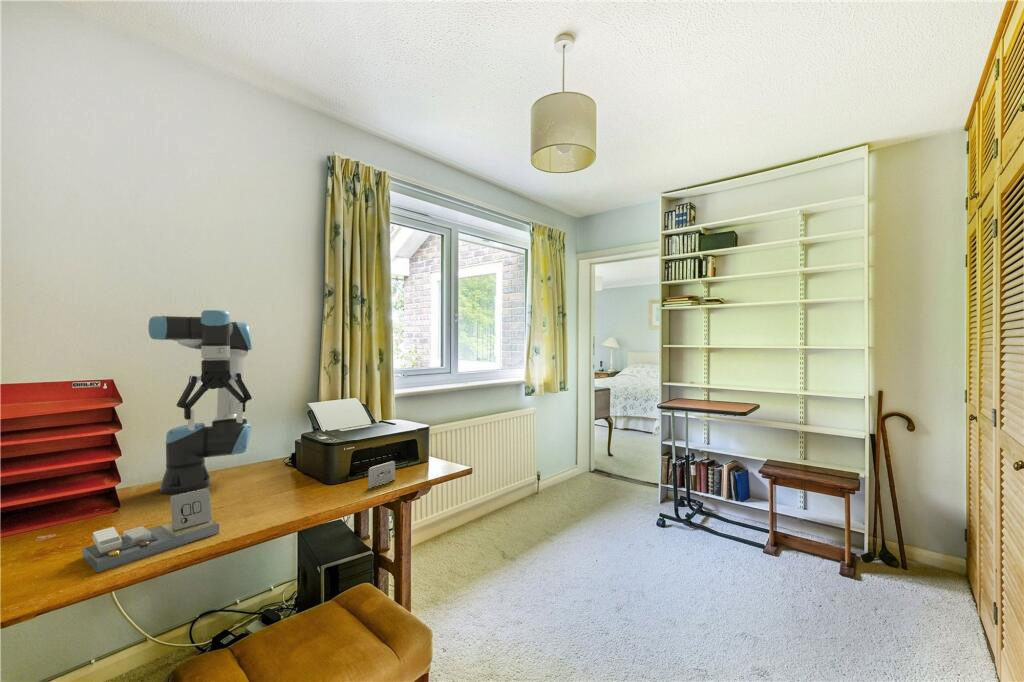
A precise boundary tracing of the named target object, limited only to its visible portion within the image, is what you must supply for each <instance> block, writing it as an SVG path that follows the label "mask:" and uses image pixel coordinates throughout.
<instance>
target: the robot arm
mask: <svg viewBox="0 0 1024 682" xmlns="http://www.w3.org/2000/svg"><path fill="white" fill-rule="evenodd" d="M200 314H201V315H200V316H173V315H171V316H169V315H168V316H167V315H166V316H165V315H159V316H158V315H154V316H151V317H150V318H149V320H148V334H149V338H151V339H152V340H158V341H159V340H161V341H165V340H166V341H167V340H168V341H173V342H174V341H175V342H177V343H178V345H180V346H183V347H186V348H190V349H195V350H200V352H201V355H200V356H201V359H203V360H201V361H200V363H201V367H200V369H201V374H200V376H197V375H189V378H188V383H187V385H186V387H185V388H184V390H183V391H182V394H181V396H180V397H179V399H178V401H177V403H176V407H177V408H180V409H184V410H183V417H184V420H186V421H187V424H183V425H180V426H179V425H178V426H177V427H173V428H171V429H169V430H168V431H167V432H166V435H165V436H166V439H165V467H166V468H165V472H164V474H163V477H162V480H161V482H160V485H159V492H160V493H161V494H165V495H178V494H177V493H179V494H183V493H185V492H186V493H188V492H192V491H195V490H196V491H197V490H201V489H206V487H209V486H210V485H211V477H210V474H209V472H208V469H207V466H206V464H205V462H206V460H205V459H206V458H215V457H222V456H223V457H224V456H234V455H240V454H244V453H245V452H247V450H248V448H249V442H250V436H251V429H252V424H251V423H249V422H248V419H247V418H246V417H245V416H244V415H243V414H244V413H245V412H246V403H247V402H248V401H251V400H252V398H253V397H252V395H251V394H250V392H249V390H248V388H247V386H246V385H245V383H244V360H245V359H244V358H245V357H246V356H248V354H249V351H251V350H252V349H253V347H252V346H253V345H252V339H251V332H250V326H249V324H248V322H242V321H231V317H230V315H231V314H230V312H229V311H227V310H219V309H218V310H217V309H216V310H215V309H214V310H213V309H212V310H211V309H210V310H208V309H205V310H202V312H201V313H200ZM199 381H200V382H201V383H202V384H201V385H200V386H199V388H198V389H197V390H196V391H195V393H193V391H194V390H195V387H196V384H198V383H199ZM209 389H210V390H216V389H217V397H216V398H217V401H216V402H217V404H216V405H217V406H216V417H215V418H214V419H213V420H212V421H211V426H210V425H209V426H206V424H205V423H204V422H195V409H194V408H193V406H194V405H195V404H196V403H197V402H198V401H199V400H200V398H202V397H203V395H204V394H205V393H206V392H208V391H209ZM192 393H193V395H192ZM191 395H192V396H191ZM190 396H191V397H190Z"/></svg>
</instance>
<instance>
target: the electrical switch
mask: <svg viewBox="0 0 1024 682" xmlns="http://www.w3.org/2000/svg"><path fill="white" fill-rule="evenodd" d="M210 491H211V490H210V489H209V488H206V487H205V488H202V489H199V490H196V491H191V492H186V493H179V494H173V495H171V496H170V497H169V504H170V510H171V513H170V514H171V522H172V529H173V530H178V529H182V528H186V527H189V526H193V525H197V524H200V523H204V522H208V521H210V520H211V519H212V520H213V513H212V503H211V492H210ZM183 519H185V521H184V523H183V522H182V520H183Z"/></svg>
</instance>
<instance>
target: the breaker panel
mask: <svg viewBox="0 0 1024 682" xmlns="http://www.w3.org/2000/svg"><path fill="white" fill-rule="evenodd" d="M184 521H185V519H183V520H182V522H183V523H184ZM122 532H123V533H122V536H120V538H121V540H122V547H120V548H116V549H113V550H110V551H106V552H103V553H100V552H99V550H98V548H97V546H96V544H95V543H94V544H91V545H87V546H85V547H82V548H81V549H82V551H81V552H82V557H83V558H84V559H85V560H86V561H85V560H84V559H83V558H82V559H83V560H84V561H85V562H86V563H87V564H88V565H89V566H90V567H91V568H92V569H93V570H94V571H95V572H96V573H97V574H99V573H101V572H105V571H108V570H111V569H114V568H116V567H119V566H120V567H121V566H123V565H126V564H129V563H132V562H135V561H138V560H142V559H145V558H147V557H150V556H153V555H156V554H159V553H163V552H166V551H169V550H171V549H175V548H178V547H181V546H185V545H187V543H188V544H190V543H189V542H191V543H193V542H192V541H194V542H196V541H195V540H197V541H199V540H198V539H200V540H202V539H201V538H203V539H205V538H204V537H206V538H208V536H209V537H211V535H212V536H214V534H215V535H217V534H216V533H218V534H220V524H219V523H218V522H217V521H215V520H213V518H212V519H211V520H210V521H208V522H204V523H200V524H197V525H193V526H189V527H186V528H182V529H178V530H173V529H172V521H171V522H169V523H164V524H162V525H158V526H157V525H156V526H155V527H151V528H148V529H147V528H145V527H144V526H143V525H141V526H138V527H134V528H130V529H127V530H124V531H122ZM184 544H185V545H184Z"/></svg>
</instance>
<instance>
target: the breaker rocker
mask: <svg viewBox="0 0 1024 682" xmlns="http://www.w3.org/2000/svg"><path fill="white" fill-rule="evenodd" d="M120 537H121V536H120V535H119V533H118V531H117V530H116V528H115V527H114V526H112V527H111V526H110V527H107V528H103V529H99V530H97V531H94V532H92V540H93V542H94V544H96V546H97V548H98V550H99V552H100V553H103V552H106V551H110V550H113V549H116V548H120V547H122V540H121V538H120Z"/></svg>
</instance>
